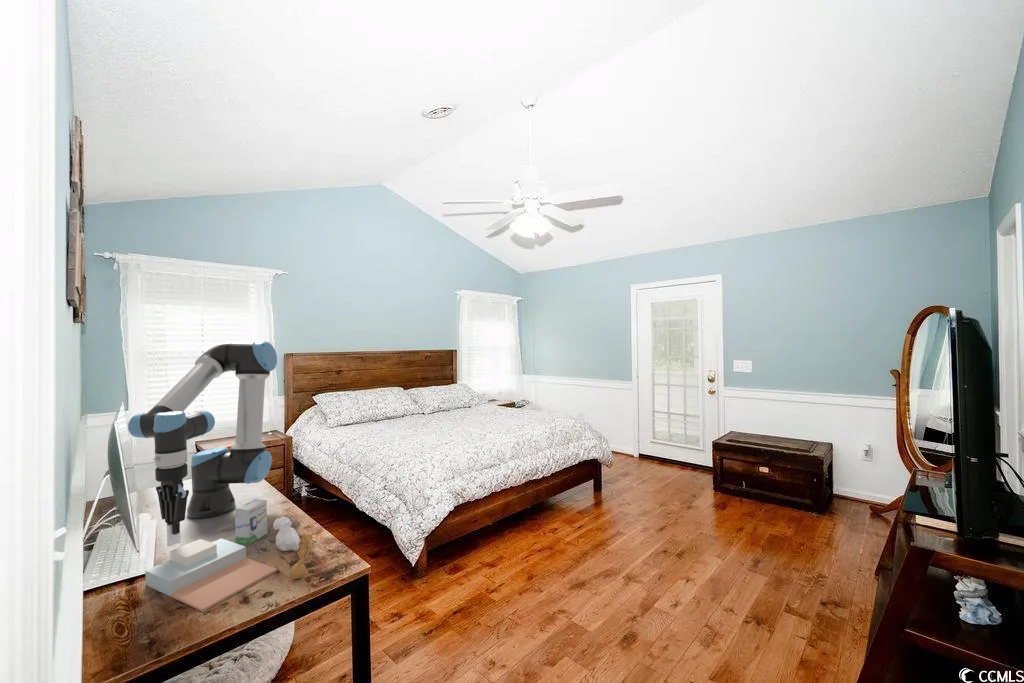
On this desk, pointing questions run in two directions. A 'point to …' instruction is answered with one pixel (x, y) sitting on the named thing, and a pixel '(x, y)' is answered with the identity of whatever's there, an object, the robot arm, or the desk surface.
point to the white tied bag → (286, 535)
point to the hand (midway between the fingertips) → (173, 543)
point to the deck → (193, 568)
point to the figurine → (299, 568)
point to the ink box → (250, 521)
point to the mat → (223, 584)
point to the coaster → (193, 552)
